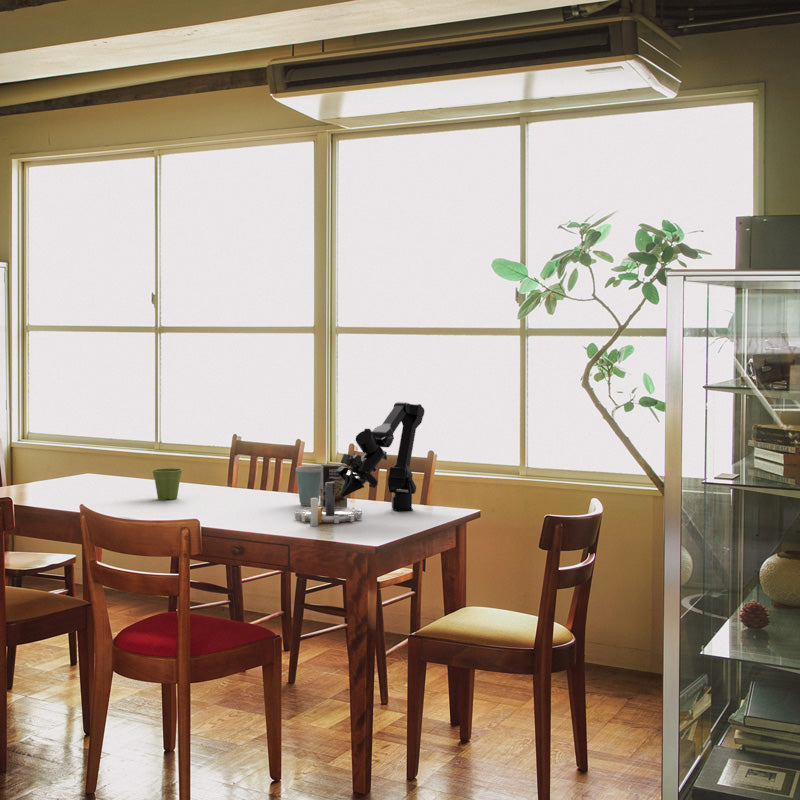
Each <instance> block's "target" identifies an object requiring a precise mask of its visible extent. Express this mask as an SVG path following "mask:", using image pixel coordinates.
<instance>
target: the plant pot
mask: <svg viewBox="0 0 800 800" xmlns="http://www.w3.org/2000/svg"><path fill="white" fill-rule="evenodd" d="M183 470H184V469H183V468H174V467H173V468H172V467H171V468H170V467H168V468H154V469H151V472H152V474H153V478H154V482H155V483H154V484H155V489H156V495H157V499H158V500H162V501H165V500H176V499H178V495H179V488H180V481H181V477H182V473H183Z"/></svg>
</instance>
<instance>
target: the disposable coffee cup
mask: <svg viewBox="0 0 800 800" xmlns="http://www.w3.org/2000/svg"><path fill="white" fill-rule="evenodd" d="M321 465H322V464H315V465H314V464H312V465H311V464H308V465H299V466H297V467H295V475H296V482H297V490H298V496H299V503H300V506H303V505H311V498H318V503H319V502H320V492H321Z"/></svg>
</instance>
